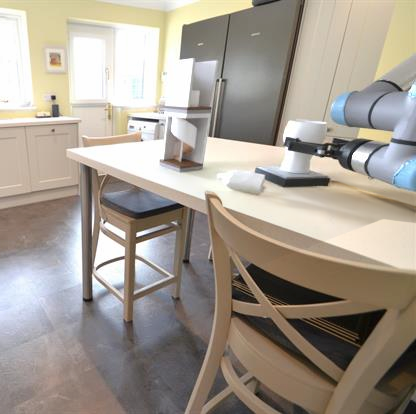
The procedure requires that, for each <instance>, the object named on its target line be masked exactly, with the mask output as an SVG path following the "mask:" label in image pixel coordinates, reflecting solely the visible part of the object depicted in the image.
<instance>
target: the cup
mask: <svg viewBox="0 0 416 414" xmlns="http://www.w3.org/2000/svg"><path fill="white" fill-rule="evenodd" d="M327 134H328V122H327V121H326V122H325V121H318V120H301V119H300V120H299V119H298V120H297V119H296V120H295V119H293V120H289V121H288V122H287V125H286V126H285V128H284V132H283V142H284V141H285V138H286V137H291V138H295V139H296V138H299V140H301V141H303V142H311V143H319V144H324V141H325V140H326V137H327ZM284 148H285V155H284V159H283V161H282V164H281V165H280V166H281V168H280V169H281V170H283V171H286V172H291V173H300V174H306V173H309V170H311V169H310V167H311V160H312V158H313V156H314V155H309V154H304V153H299V152H294V151H288V150H287V149H288V147H285V146H284Z"/></svg>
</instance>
